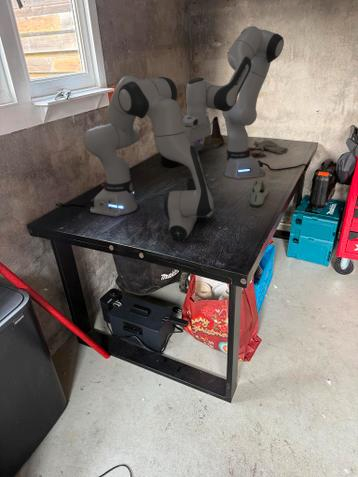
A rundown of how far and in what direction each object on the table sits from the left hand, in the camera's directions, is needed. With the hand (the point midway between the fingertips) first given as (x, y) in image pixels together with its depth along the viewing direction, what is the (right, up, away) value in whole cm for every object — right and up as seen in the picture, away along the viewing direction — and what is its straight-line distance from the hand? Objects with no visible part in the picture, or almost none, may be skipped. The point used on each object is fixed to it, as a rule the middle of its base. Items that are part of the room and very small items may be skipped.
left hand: (193, 201), depth 148 cm
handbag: (-9, +33, +68) cm, 76 cm away
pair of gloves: (+49, +43, +80) cm, 103 cm away
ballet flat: (+32, +3, +13) cm, 35 cm away
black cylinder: (0, -5, +2) cm, 5 cm away
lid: (+2, +27, +5) cm, 27 cm away
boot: (+23, +55, +103) cm, 119 cm away
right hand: (+2, +25, +6) cm, 26 cm away
